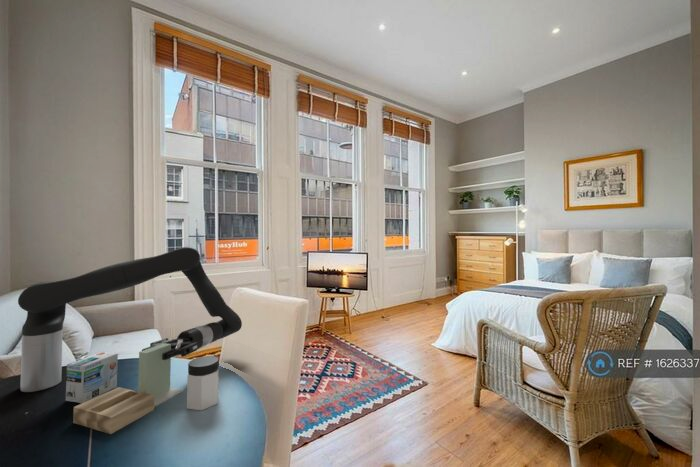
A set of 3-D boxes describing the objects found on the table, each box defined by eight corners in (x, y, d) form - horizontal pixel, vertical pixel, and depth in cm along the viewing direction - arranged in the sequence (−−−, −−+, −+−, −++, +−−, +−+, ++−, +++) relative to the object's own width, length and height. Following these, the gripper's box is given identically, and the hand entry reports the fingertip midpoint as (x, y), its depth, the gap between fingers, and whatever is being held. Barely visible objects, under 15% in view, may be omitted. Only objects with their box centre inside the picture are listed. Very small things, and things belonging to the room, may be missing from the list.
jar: (217, 408, 85) (218, 365, 85) (185, 413, 82) (185, 369, 82) (219, 392, 93) (220, 353, 94) (190, 397, 90) (190, 357, 91)
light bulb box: (82, 404, 86) (83, 366, 87) (64, 401, 88) (65, 364, 88) (118, 386, 97) (118, 352, 97) (101, 384, 98) (101, 351, 99)
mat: (122, 400, 88) (122, 399, 88) (154, 385, 98) (154, 384, 98) (152, 408, 84) (152, 407, 84) (182, 391, 94) (182, 390, 94)
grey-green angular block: (138, 400, 88) (139, 351, 88) (162, 387, 96) (163, 343, 96) (145, 401, 87) (146, 353, 88) (170, 389, 95) (170, 344, 95)
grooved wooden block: (73, 422, 78) (73, 407, 78) (118, 400, 88) (119, 387, 88) (111, 434, 73) (111, 417, 73) (154, 409, 84) (154, 395, 84)
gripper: (180, 325, 109) (135, 339, 93) (212, 329, 104) (170, 345, 89) (180, 346, 108) (135, 364, 93) (211, 351, 104) (170, 371, 88)
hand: (152, 355), depth 91 cm, fingers open, 8 cm apart
